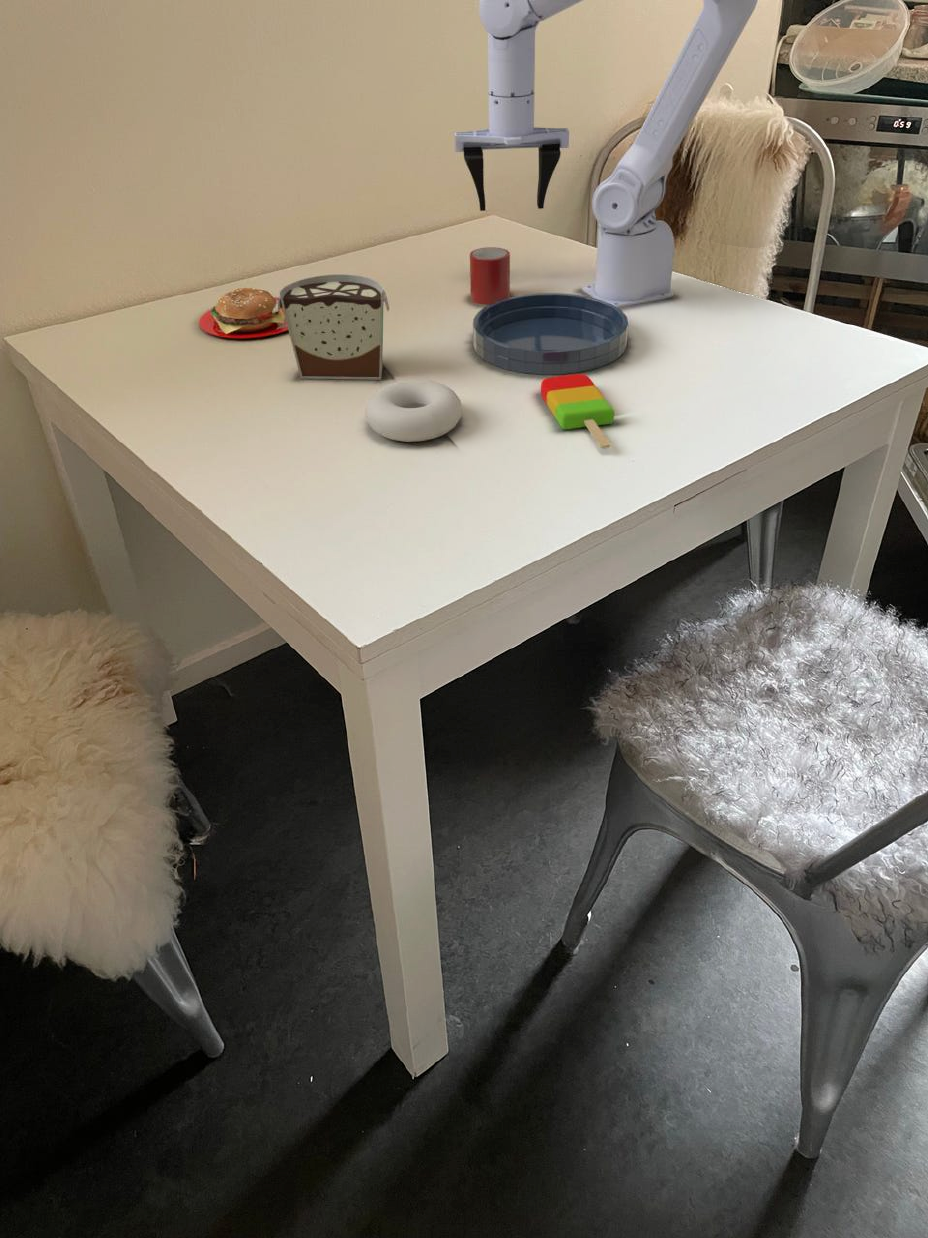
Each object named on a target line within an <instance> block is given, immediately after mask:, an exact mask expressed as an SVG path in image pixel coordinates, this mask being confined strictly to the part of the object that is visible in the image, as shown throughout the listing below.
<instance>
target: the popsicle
mask: <svg viewBox="0 0 928 1238" xmlns="http://www.w3.org/2000/svg"><path fill="white" fill-rule="evenodd" d="M540 396H541V398H542V399H543V401H544V402H545V403H546V405H547V407H548V409H549V411H550V412H551V413H552V415H553V417H554V418H555V420H556V421H557V423H558V424H559V426H560V428H561V429H562V430H564V431H565V430H571V429H572V430H573V429H581V428H587V430H588V431H589V432H590V434H591V436H592V437H593V438H594V440H595V441H596V443H597V445H598V447H600V449H608V448H610V447H611V443H610V441H609V440H608V438H607V437H606V436H605V434H604V433H603V431H602V429H601V428H600V426H603V425H611V424H613V423H614V420H615V410H614V409H613V407H612V405H610V403H609V402H608V400H606V398H605V397H604V395H603V394H602V393H601V391H600V390H599V389H598V387H597V386H596V384H594V382H593V381H592V379H591V378H590V377H589V376H587V374H583V373H572V374H563V375H558V376H551V377H550V376H549V377H546V378H543V380H542V381H541V384H540Z"/></svg>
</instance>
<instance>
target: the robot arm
mask: <svg viewBox="0 0 928 1238" xmlns="http://www.w3.org/2000/svg"><path fill="white" fill-rule="evenodd" d="M583 1H584V0H479V2H478V15H479V19H480V22H481V24H482V26H483V28H484V29H485V31H486V32H487V76H488V77H487V78H488V79H487V83H488V84H487V86H488V89H487V90H488V93H487V94H488V128H484V129H475V130H468V131H455V132H454V152H455V153H462V152H463V159H464V163H465V165H466V166H467V168H468V170H469V173H470V177H471V178H472V181H473V184H474V187H475V190H476V193H477V197H478V202H479V203H478V204H479V211H480V212H485V211H486V196H485V182H484V181H485V179H484V176H485V173H484V172H485V171H484V167H485V165H484V161H485V160H484V151H485V150H506V149H507V150H511V149H535V148H536V149H538V182H537V192H536V193H537V194H536V205H537V209H538V210H541V209H544V207H545V199H546V195H547V191H548V188H549V185H550V183H551V182H550V181H551V180H552V177H553V174H554V172H555V169H556V167H557V165H558V163H559V161H560V158H561V155H562V154H561V153H562V152H561V149H568V148H569V147H570V130H569V128H568V127H537V126H535V79H536V78H535V77H536V76H535V73H536V72H535V71H536V70H535V69H536V66H535V65H536V61H535V60H536V30H537V28H538V26H539V24H540V22H544V21H546V20H547V19H550V18H551V17H553V16H555V15H557V14H560V13H561V12H564V11H565V10H567V9H569V8H571V7H573V6H575V5H577V4H579V3H581V2H583ZM758 1H759V0H702V2H703V7H702V9H701V11H700V13H699V15H698V17H697V19H696V21H695V23H694V25H693V27H692V29H691V31H690V32H689V35H688V36H687V38H686V40H685V42H684V44H683V46H682V48H681V50H680V52H679V54H678V55H677V58H676V59H675V62H674V63H673V65H672V67H671V70H670V71H669V73H668V76H667V77H666V79H665V81H664V83H663V85H662V87H661V89H660V90H659V93H658V95H657V97H656V98H655V100H654V102H653V104H652V107H651V108H650V110H649V112H648V114H647V116H646V117H645V121H644V122H643V124H642V126H641V128H640V130H639V132H638V133H637V136H636V138H635V139H634V141H633V143H632V145H630V147H629V148H628V149H627V151H626V152H625V154H624V155H623V156H622V157H621V159H620V160H619V162H618V163H617V164H616V167H615V168H614V170H613V171H612V174H611V175H610V176H608V177H607V178H606V179H604V180H603V181H601V182H600V183H599V184H598V186H597V187H596V188H595V191H594V193H593V196H592V201H591V205H592V206H591V207H592V212H593V216H594V219H595V220H596V221H597V224H598V228H597V229H598V230H597V245H596V246H597V247H596V251H597V252H596V265H595V281H594V282H595V284H591V285H584V286H582V289H581V290H582V292H584V293H585V294H587V295H588V296H589V297H591V298H595V299H599V300H602V301H605V302H607V303H610V304H612V305H614V306H616V307H617V308H619V309H620V308H624V307H628V306H634V305H638V304H639V305H640V304H643V303H649V302H653V301H659V300H664V299H669V298H673V297H674V293H673V292H672V291H671V285H672V276H673V267H674V266H673V265H674V258H675V238H674V233H673V230H672V228H671V227H670V225H669V224H668V223H667V222H666V221H664V220H659V219H658V220H657V217H656V213H655V210H656V209H657V208H658V207H659V206H660V205H661V203H662V202H663V200H664V197H665V194H666V185H667V184H666V183H667V178H668V176H669V173H670V172H671V170H672V168H673V159H674V156H675V154H676V153H677V151H678V149H679V147H680V145H681V143H682V142H683V139H684V138H685V136H686V134H687V132H688V131H689V129H690V127H691V125H692V123H693V121H694V120H695V118H696V116H697V114H698V112H699V110H700V109H701V107H702V105H703V103H704V102H705V100H706V98H707V97H708V95H709V92H710V90H711V89H712V88H713V85H714V84H715V82H716V80H717V78H718V77H719V74H720V72H721V71H722V69H723V67H724V65H725V64H726V62H727V61H728V58H729V57H730V54H731V53H732V51H733V49H734V47H735V46H736V44H737V42H738V40H739V38H740V37H741V34H742V33H743V31H744V28H746V26H747V24H748V22H749V20H750V18H751V16H752V15H753V13H754V11H755V9H756V7H757V4H758ZM483 150H484V151H483Z"/></svg>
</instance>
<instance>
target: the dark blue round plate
mask: <svg viewBox="0 0 928 1238" xmlns="http://www.w3.org/2000/svg"><path fill="white" fill-rule="evenodd" d="M628 331H629V320H628V316H627V315H626V314H625V313H624V311H623V310H622V309H621V308H620V307H619V308H617V307H616V306H614V305H612V304H610V303H607V302H605V301H602V300H599V299H595V298H593V297H592V296H587V295H581V294H575V293H561V292H556V293H555V292H546V293H545V292H544V293H543V292H540V293H530V294H522V295H516V296H510V298H507V299H503V300H500V301H497V302H494V303H492V304H490V305H485V306H484V307H483V308H482V309H480V310H479V311H477V313H476V314H475V316H474V317H473V319H472V341H473V344H472V345H473V349H474V351H475V353H476V354H477V355H478V356H479V358H481V359H482V360H484V361H485V362H487V363H489V364H491V365H492V366H495V367H498V368H501V369H504V370H506V371H507V370H508V371H511V372H512V371H513V372H517V373H522V374H530V375H541V376H546V375H547V376H548V375H571V374H579V373H582V372H587V371H592V370H596V369H599V368H601V367H604V366H607V365H609V364H611V363H612V362H614V361H615V360H617V359H619V358H620V357H621V356H622V355H623V354H624V353H625V351H626V348H627V345H628V334H629V332H628Z"/></svg>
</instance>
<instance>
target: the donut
mask: <svg viewBox="0 0 928 1238" xmlns="http://www.w3.org/2000/svg"><path fill="white" fill-rule="evenodd" d="M462 408H463V407H462V401H461V399H460V397H459V396H458V394H457V393H456V392H455V390H453V389H452V388H450V387H448V386H447V385H446V384H443V383H440V382H438V381H437V382H436V381H433V380H424V379H407V380H401V381H396V382H395V381H394V382H393V383H390V384H387V385H384V386H382V387H380V388H379V389H377V390H376V391H374V392H373V394H372V395H370V397H369V398H368V400H367V402H366V406H365V419H366V421H367V423H368V424H369V426H370V428H371V429H372V431H374V432H375V433H377V434H378V435H380V436H382V437H383V438H387V439H389V440H392V441H398V442H406V443H412V442H413V443H414V442H425V441H429V440H434V439H436V438H439V437H443V436H444V435H446V434H447V433H449V432H450V431H452V430H453V429H454V428H455V427H456V425H457V424H458V423H459V421H460V419H461V418H462V411H463V410H462Z"/></svg>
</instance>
